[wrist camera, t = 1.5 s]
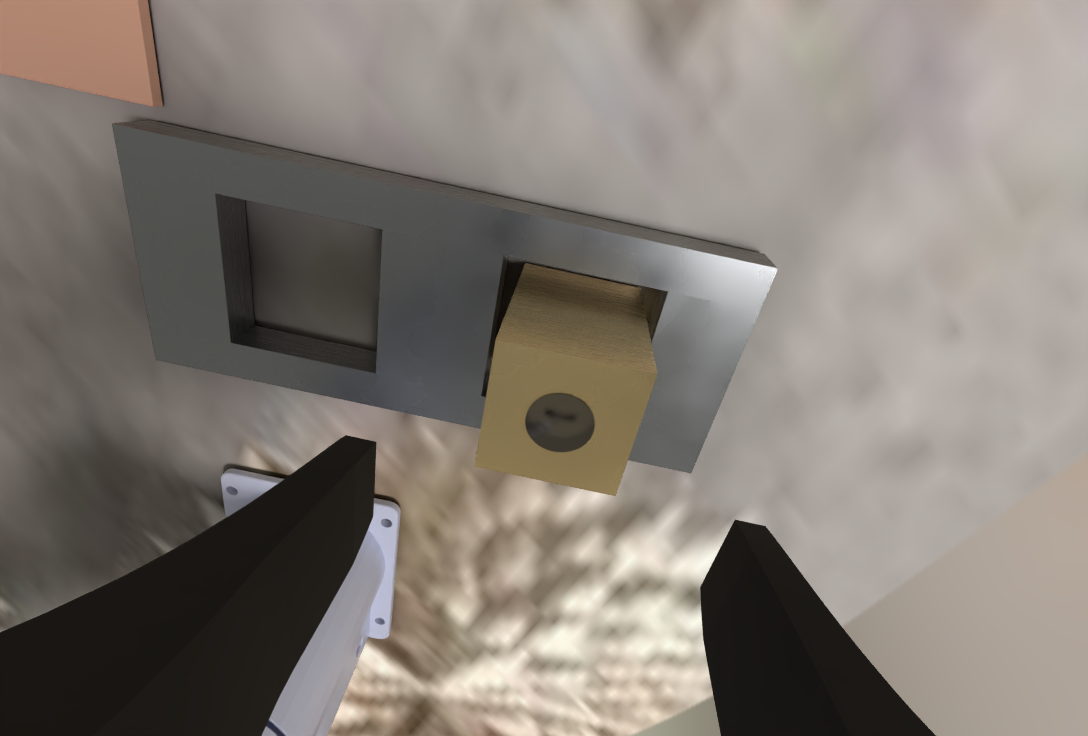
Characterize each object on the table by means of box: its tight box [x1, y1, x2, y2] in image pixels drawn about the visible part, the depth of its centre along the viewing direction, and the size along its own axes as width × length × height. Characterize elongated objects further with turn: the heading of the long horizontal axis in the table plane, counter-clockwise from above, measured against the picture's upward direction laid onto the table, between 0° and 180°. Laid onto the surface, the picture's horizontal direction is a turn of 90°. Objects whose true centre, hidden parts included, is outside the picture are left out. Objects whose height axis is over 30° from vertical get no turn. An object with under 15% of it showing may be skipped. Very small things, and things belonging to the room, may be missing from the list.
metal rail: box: [112, 120, 778, 473], centre depth 18 cm, size 8×20×2 cm, turn 78°
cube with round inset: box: [475, 263, 657, 496], centre depth 17 cm, size 4×4×6 cm
